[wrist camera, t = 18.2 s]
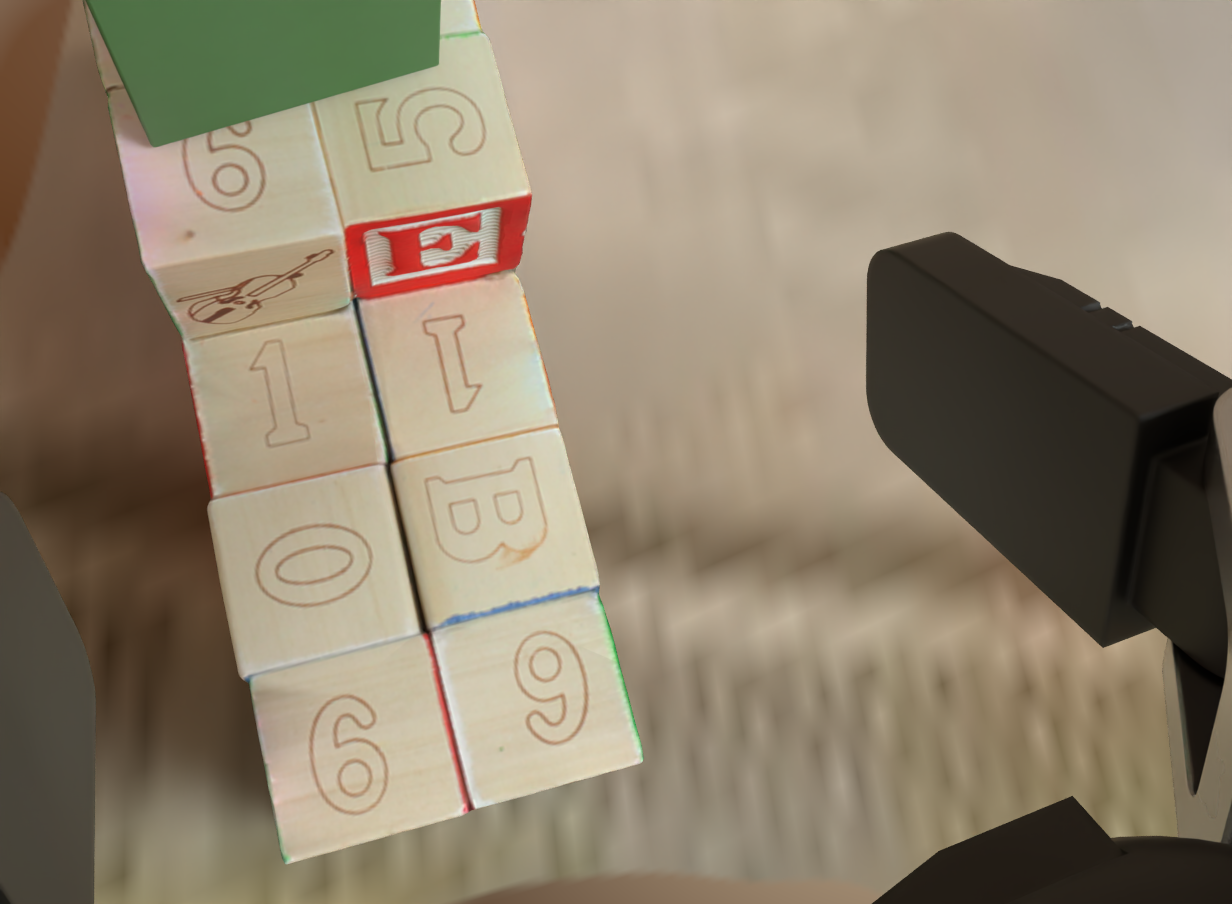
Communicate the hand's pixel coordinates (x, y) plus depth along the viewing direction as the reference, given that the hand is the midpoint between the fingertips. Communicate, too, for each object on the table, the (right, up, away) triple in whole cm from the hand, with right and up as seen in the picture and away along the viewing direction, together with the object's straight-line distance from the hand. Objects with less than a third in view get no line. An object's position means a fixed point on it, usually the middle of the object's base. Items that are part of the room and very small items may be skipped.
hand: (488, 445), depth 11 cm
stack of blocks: (-5, +2, +19) cm, 20 cm away
